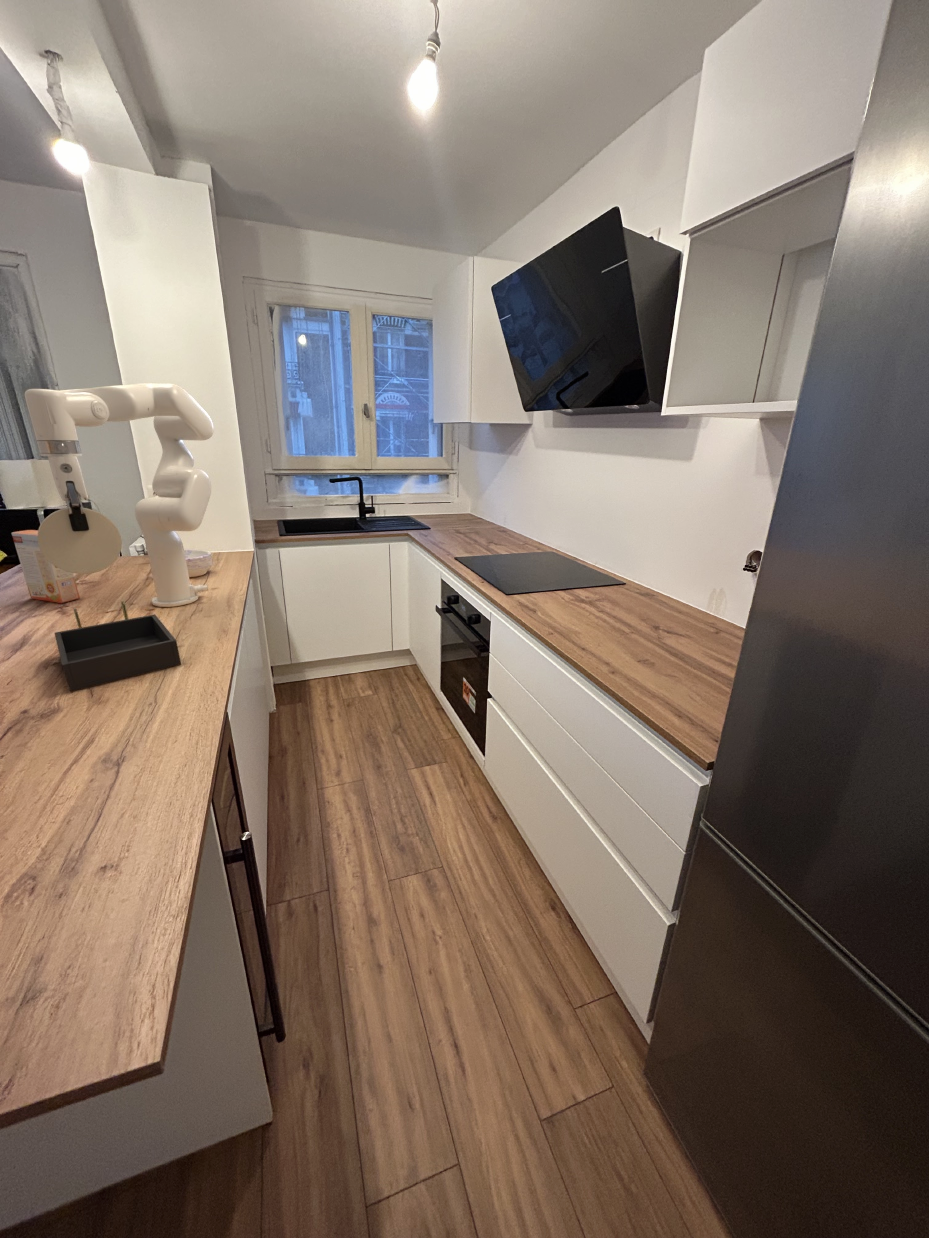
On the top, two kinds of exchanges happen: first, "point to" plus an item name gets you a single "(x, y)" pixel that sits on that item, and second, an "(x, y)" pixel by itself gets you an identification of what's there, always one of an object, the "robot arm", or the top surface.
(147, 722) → the top surface
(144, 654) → the sink basin
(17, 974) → the top surface
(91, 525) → the plate
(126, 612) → the drying rack
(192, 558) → the paper bowls
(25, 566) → the cracker box
